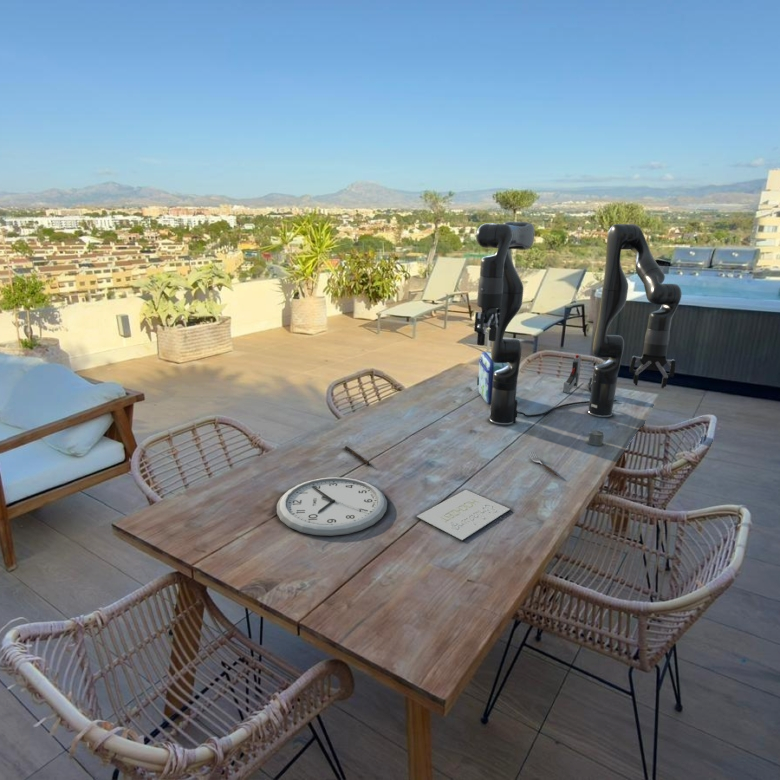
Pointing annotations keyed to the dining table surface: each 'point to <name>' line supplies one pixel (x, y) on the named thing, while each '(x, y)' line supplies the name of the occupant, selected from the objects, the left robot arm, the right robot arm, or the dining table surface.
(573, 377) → the toy gun
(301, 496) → the wall clock
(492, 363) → the lunch box
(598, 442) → the tin
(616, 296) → the right robot arm
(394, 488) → the dining table surface
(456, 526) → the invitation card
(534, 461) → the fork
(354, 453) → the dark brown stick
